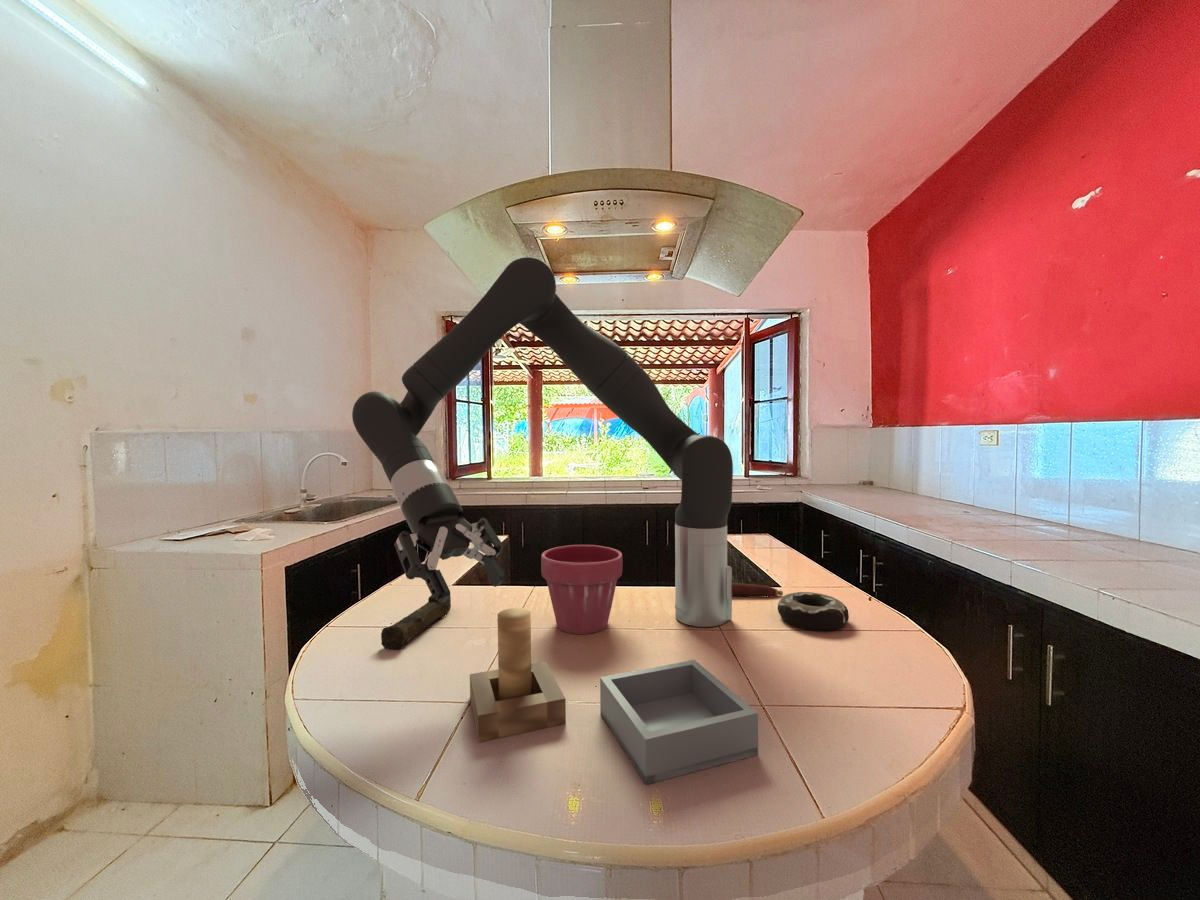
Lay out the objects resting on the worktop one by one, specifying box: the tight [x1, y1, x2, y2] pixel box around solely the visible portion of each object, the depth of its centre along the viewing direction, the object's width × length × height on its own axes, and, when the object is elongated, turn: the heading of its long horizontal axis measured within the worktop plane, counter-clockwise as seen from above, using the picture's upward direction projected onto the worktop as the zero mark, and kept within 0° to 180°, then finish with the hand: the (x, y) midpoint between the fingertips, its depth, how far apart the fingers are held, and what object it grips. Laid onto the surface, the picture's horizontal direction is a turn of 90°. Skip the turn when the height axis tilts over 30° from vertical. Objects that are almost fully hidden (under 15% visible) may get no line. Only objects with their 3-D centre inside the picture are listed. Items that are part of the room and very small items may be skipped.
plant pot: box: [540, 544, 623, 635], centre depth 89 cm, size 14×14×13 cm
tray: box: [599, 659, 759, 786], centre depth 57 cm, size 13×13×4 cm
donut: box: [777, 591, 850, 632], centre depth 90 cm, size 12×12×4 cm
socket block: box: [469, 661, 567, 743], centre depth 62 cm, size 10×10×3 cm
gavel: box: [732, 582, 784, 598], centre depth 104 cm, size 21×5×10 cm
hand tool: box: [380, 594, 452, 651], centre depth 88 cm, size 19×4×5 cm, turn 166°
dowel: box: [497, 607, 533, 701], centre depth 61 cm, size 4×4×12 cm
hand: (474, 590), depth 67 cm, fingers open, 8 cm apart
